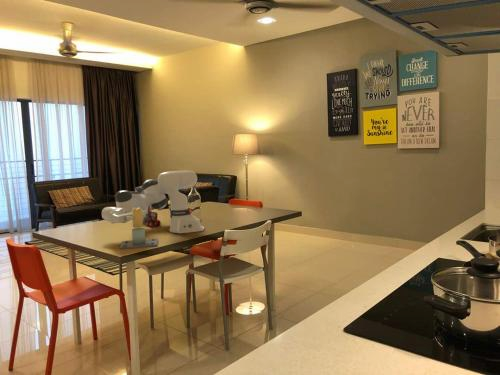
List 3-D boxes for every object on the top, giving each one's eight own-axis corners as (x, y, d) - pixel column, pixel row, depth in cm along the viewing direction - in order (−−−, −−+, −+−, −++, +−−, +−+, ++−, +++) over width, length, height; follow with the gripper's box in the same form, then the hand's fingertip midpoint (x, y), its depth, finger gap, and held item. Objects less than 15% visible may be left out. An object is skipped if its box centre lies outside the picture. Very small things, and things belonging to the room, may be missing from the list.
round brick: (143, 225, 234) (142, 207, 233) (142, 227, 229) (141, 208, 227) (133, 226, 233) (132, 207, 232) (132, 228, 228) (131, 209, 226)
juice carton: (135, 222, 301) (133, 185, 298) (142, 219, 311) (140, 184, 308) (146, 222, 299) (144, 185, 296) (153, 219, 309) (151, 183, 306)
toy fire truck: (153, 224, 291) (153, 209, 290) (162, 226, 281) (161, 211, 280) (144, 225, 286) (143, 211, 285) (152, 228, 277) (151, 213, 276)
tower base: (157, 240, 241) (156, 225, 240) (157, 246, 227) (156, 230, 226) (122, 243, 237) (121, 228, 236) (119, 249, 223) (118, 233, 222)
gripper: (136, 217, 246) (152, 219, 239) (108, 223, 229) (124, 226, 222) (136, 207, 246) (152, 208, 238) (107, 212, 229) (123, 214, 221)
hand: (138, 217), depth 230 cm, fingers closed on round brick, 5 cm apart
